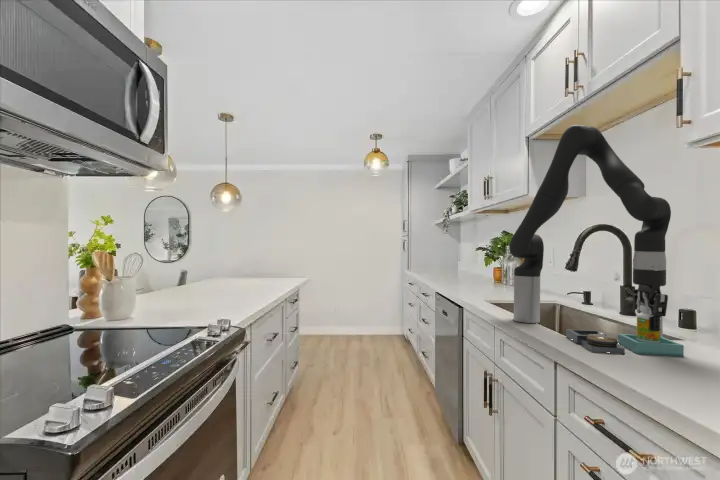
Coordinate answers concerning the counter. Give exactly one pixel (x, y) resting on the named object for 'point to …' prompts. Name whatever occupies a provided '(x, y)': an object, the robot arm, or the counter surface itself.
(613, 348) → the bracket
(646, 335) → the supplement bottle
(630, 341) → the tray
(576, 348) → the counter surface
